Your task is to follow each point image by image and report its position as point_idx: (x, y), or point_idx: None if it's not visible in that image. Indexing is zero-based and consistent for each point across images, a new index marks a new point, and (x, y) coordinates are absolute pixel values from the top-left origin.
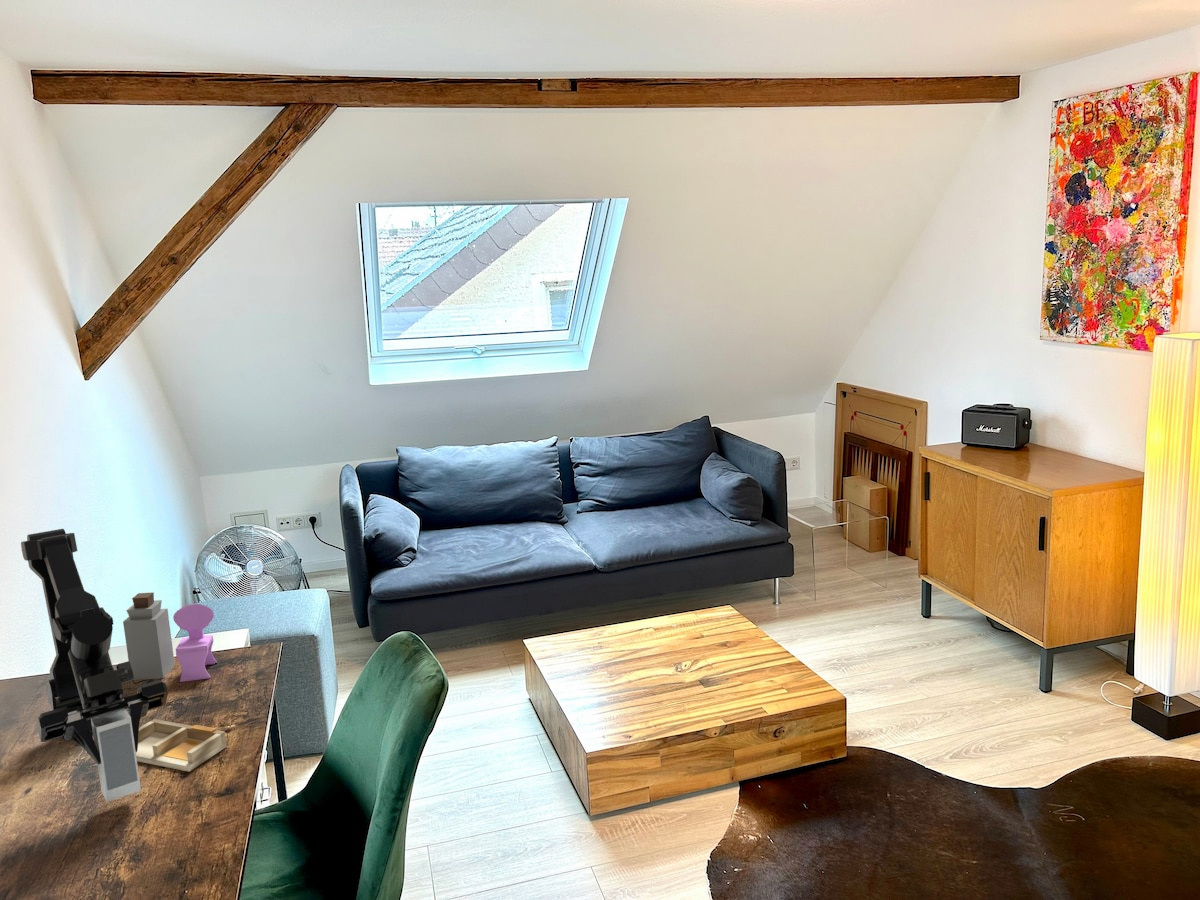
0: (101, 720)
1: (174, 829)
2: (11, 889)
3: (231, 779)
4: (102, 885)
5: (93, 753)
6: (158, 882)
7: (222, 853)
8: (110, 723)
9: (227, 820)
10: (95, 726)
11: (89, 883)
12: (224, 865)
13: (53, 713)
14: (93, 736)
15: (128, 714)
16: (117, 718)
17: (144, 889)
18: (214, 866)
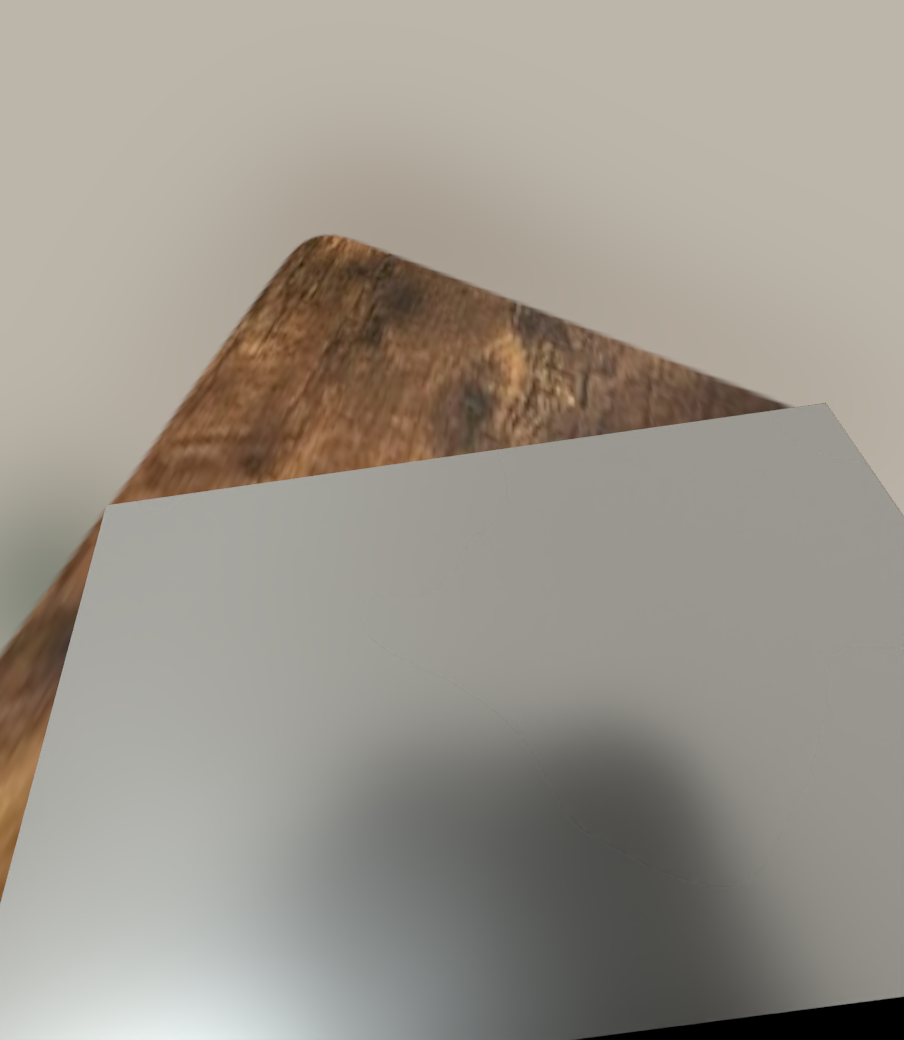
0: (804, 755)
1: None
2: None
3: (23, 741)
4: (567, 336)
5: None
6: (437, 294)
7: (276, 324)
8: (534, 454)
9: (196, 450)
10: (865, 467)
11: (601, 357)
12: (291, 287)
13: None
14: (855, 1029)
15: (65, 688)
16: (362, 610)
17: (470, 286)
18: (310, 292)
